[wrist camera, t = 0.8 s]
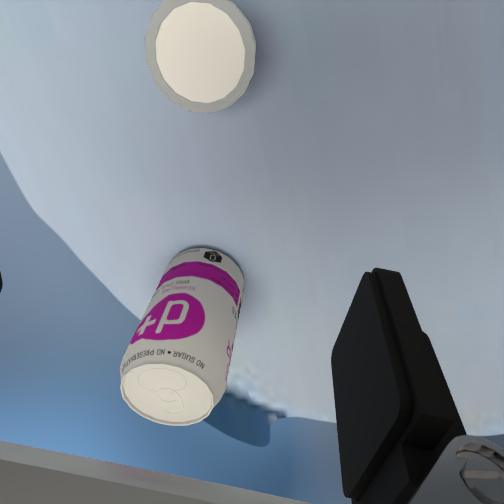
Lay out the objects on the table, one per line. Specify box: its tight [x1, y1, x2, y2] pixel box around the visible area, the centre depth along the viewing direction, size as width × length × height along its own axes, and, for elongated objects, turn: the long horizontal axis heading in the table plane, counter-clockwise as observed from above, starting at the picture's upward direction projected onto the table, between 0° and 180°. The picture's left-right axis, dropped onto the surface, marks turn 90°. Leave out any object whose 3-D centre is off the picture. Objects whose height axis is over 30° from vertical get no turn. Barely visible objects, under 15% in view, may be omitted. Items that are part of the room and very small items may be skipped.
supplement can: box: [120, 248, 244, 426], centre depth 35 cm, size 8×8×15 cm
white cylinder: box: [145, 0, 256, 113], centre depth 27 cm, size 7×7×7 cm
